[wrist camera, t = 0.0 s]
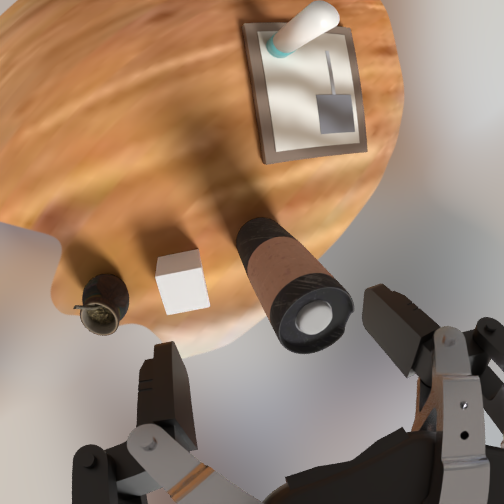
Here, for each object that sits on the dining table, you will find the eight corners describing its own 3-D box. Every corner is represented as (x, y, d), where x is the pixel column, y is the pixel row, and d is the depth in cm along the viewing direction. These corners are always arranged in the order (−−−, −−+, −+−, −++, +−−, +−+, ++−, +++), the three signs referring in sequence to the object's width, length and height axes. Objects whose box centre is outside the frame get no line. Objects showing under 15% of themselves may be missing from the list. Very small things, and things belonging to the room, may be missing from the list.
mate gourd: (113, 316, 41) (103, 359, 32) (78, 286, 38) (58, 325, 29) (141, 290, 40) (134, 331, 32) (104, 257, 37) (85, 293, 28)
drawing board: (241, 27, 29) (244, 22, 27) (345, 30, 31) (351, 27, 29) (263, 163, 37) (267, 164, 36) (361, 150, 40) (368, 152, 38)
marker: (264, 36, 28) (303, -2, 17) (288, 36, 29) (336, 2, 17) (268, 58, 30) (310, 28, 18) (292, 58, 30) (343, 31, 19)
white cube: (157, 256, 39) (154, 276, 34) (198, 248, 40) (201, 267, 35) (167, 292, 42) (167, 315, 36) (206, 284, 43) (210, 306, 37)
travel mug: (223, 235, 40) (260, 321, 22) (269, 205, 40) (340, 268, 22) (251, 273, 44) (298, 367, 26) (293, 245, 43) (364, 323, 26)
